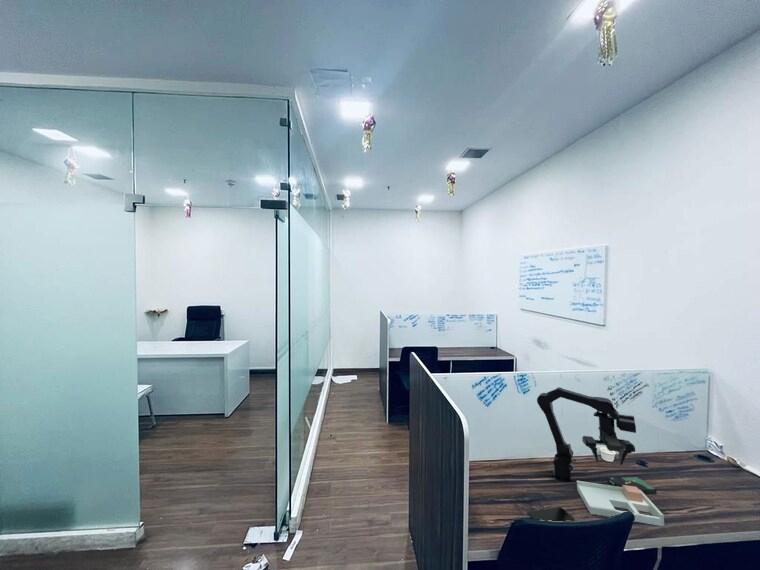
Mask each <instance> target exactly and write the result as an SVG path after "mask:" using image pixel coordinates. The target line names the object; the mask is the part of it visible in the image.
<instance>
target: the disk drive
mask: <svg viewBox="0 0 760 570" xmlns="http://www.w3.org/2000/svg"><path fill="white" fill-rule="evenodd" d="M606 480H607V483H608V484H610V486H617V487H623V486H622V485H627V486H634V487H637V488H638V489H639V490H641V491H642V492H643V493H644V494H645V495H657V494H658V491H657V489H658V488H656V487H654V486H653V485H651V484H649V483H648V482H645V481H644V480H642V479H640V478H639V477H636V476H611V477H610V476H607V479H606Z"/></svg>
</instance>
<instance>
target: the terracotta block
mask: <svg viewBox="0 0 760 570" xmlns="http://www.w3.org/2000/svg"><path fill="white" fill-rule="evenodd" d="M622 486H623V494H624V495H625V497H626V498H627V499H628V500H630V501H637V502H643V494H642V492H641V491H640V490H639V489H638V488H637V487H634V486H627V485H622Z"/></svg>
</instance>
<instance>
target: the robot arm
mask: <svg viewBox="0 0 760 570" xmlns="http://www.w3.org/2000/svg"><path fill="white" fill-rule="evenodd" d="M560 398H562V399H566V400H569V401H572V402H576V403H579V404H582V405H586V406H587V407H588V406H589V407H591V408H592V409H593V410H596V411H595V412H593V416H594V417H597V418H598V430H599V431H598V432H599V436H598V439H595V438H594V437H593V436H589V435H583V436H582V437H581V439H582V443H583V445H584V446H586V447H588V448H589V449H590V450H591V452H592V454H593V457H594V459H595V461H596V462H597V463H598V462H599V459H598V458H599V455H598V448H597V446H599V445H600V446H606V447H605V448H606V449H607V450H608V451H610V452H618V461H619V464H620V466H622V465H623V464H624V461H625V458H626V457H627V456H628V455H629V454H632V453H636V447H635V445H634V444H633V443H632V442H630V440H625V439H621V438H618V436H617V432H616V430H615V429H616V428H617V429H619V430H620V431H623V432H627V433H628V432H629V433H633V434H637V425H636V421H635V416H634V415H625V414H620V413H619V411H617V409H616V408H615V407H614V404H613V401H612V400H611V399H609V398H608V397H607V398H606V397H601V396H589V395H586V394H582V393H579V392H575V391H572V390H568V389H564V388H562V387H557V388H555V389H553V390H551V391H548V392H541V393H540V394H539V395H538V396H537V398H536V403H537V405H538V406H539V408H540V409H541V411H542V413H544V415H545V418H546V420H547V421H546V422H547V423H548V426H549V429H550V432H551V434H552V437H553V440H554V442H555V443H554V444H555V447H556V448H555V450H556V454H554V456H553V460H552V466H553V467H552V468H553V471H552V476H553V477H554V479H555V480H556V481H557V480H558V481H565V482H571V481H572V480H571V479H572V475H571V473H572V472H571V468H570V466H569V465H570V464H572V461H573V457H574V451H573V449H572V447H571V443H568V444H567V442H566V441H565V438H564V436H563V434H562V430H561V428H560V425H559V422H558V420H557V417H556V414H555V412H554V408H553V407H554V406H553V402H555V401H556V400H558V399H560ZM615 422H616V423H615ZM615 425H616V426H615ZM615 427H616V428H615Z"/></svg>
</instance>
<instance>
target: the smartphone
mask: <svg viewBox="0 0 760 570" xmlns="http://www.w3.org/2000/svg"><path fill="white" fill-rule="evenodd" d="M526 514H527V515H528V516H529V517H530V518H531V519H532V518H534V519H542V520H552V521H566V520H571V521H570V522H574V521H576V519H575V518H574V516H572V515H571V514H570V513H569V512H568V511H566V510H565V509H563V507H561V506H558V507H557V506H556V507H550V508H544V509H543V508H542V509H535V510H529V511H527V513H526Z"/></svg>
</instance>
